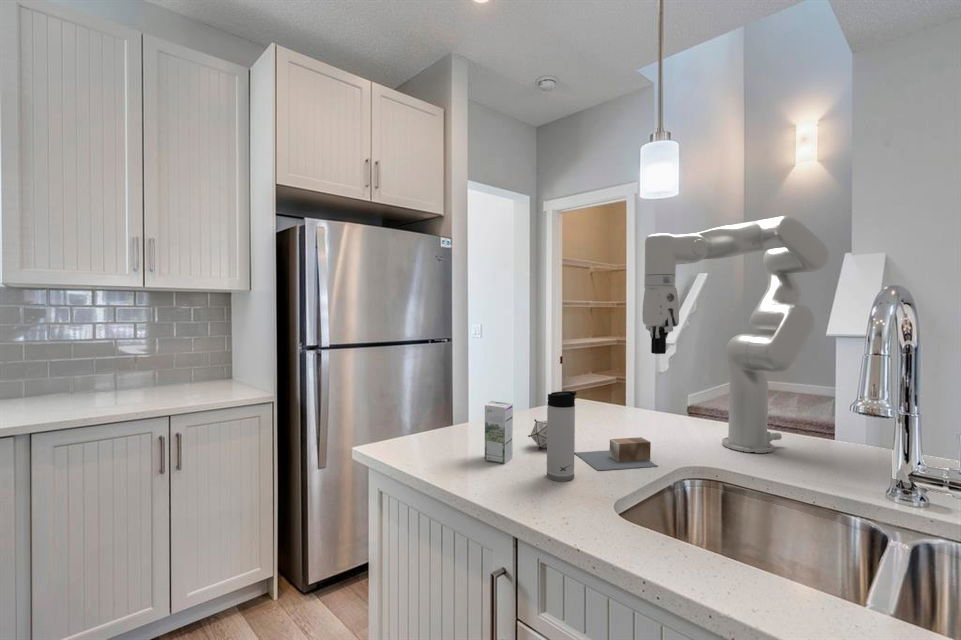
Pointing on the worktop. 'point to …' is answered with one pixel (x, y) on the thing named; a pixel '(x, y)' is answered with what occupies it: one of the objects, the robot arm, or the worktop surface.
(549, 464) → the travel mug
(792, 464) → the worktop surface
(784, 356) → the robot arm
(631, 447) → the pillar block
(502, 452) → the syrup box
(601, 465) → the mat
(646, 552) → the worktop surface
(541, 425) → the game die
